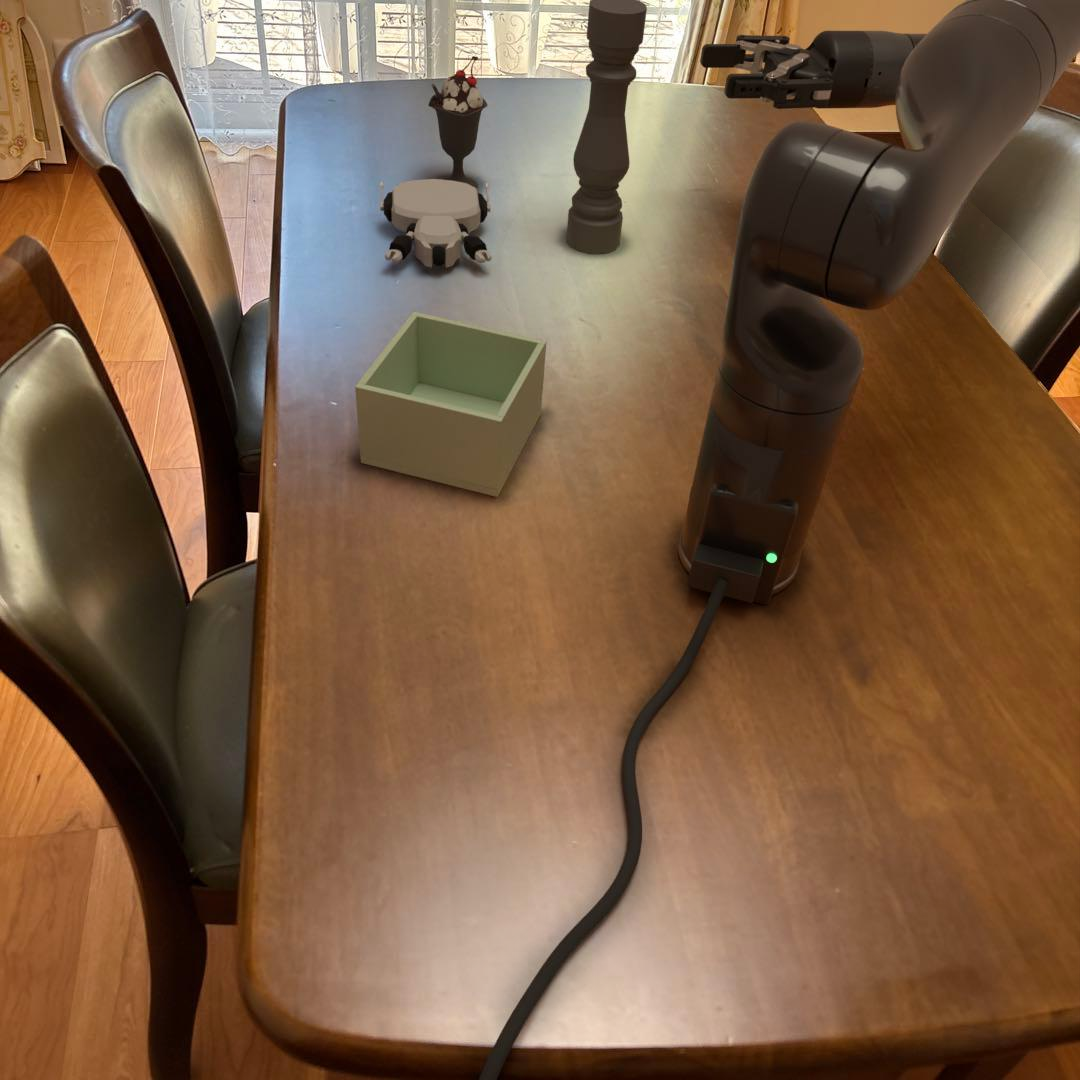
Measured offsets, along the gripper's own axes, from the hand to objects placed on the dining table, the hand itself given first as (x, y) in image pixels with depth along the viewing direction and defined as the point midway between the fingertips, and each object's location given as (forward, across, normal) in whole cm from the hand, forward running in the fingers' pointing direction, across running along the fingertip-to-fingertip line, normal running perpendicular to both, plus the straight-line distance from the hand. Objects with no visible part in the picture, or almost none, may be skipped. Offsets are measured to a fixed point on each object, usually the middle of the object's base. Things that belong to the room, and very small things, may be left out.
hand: (714, 70), depth 106 cm
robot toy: (+29, 0, +19) cm, 35 cm away
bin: (+31, +35, +18) cm, 50 cm away
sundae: (+25, -15, +19) cm, 35 cm away
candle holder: (+11, 0, +19) cm, 22 cm away
